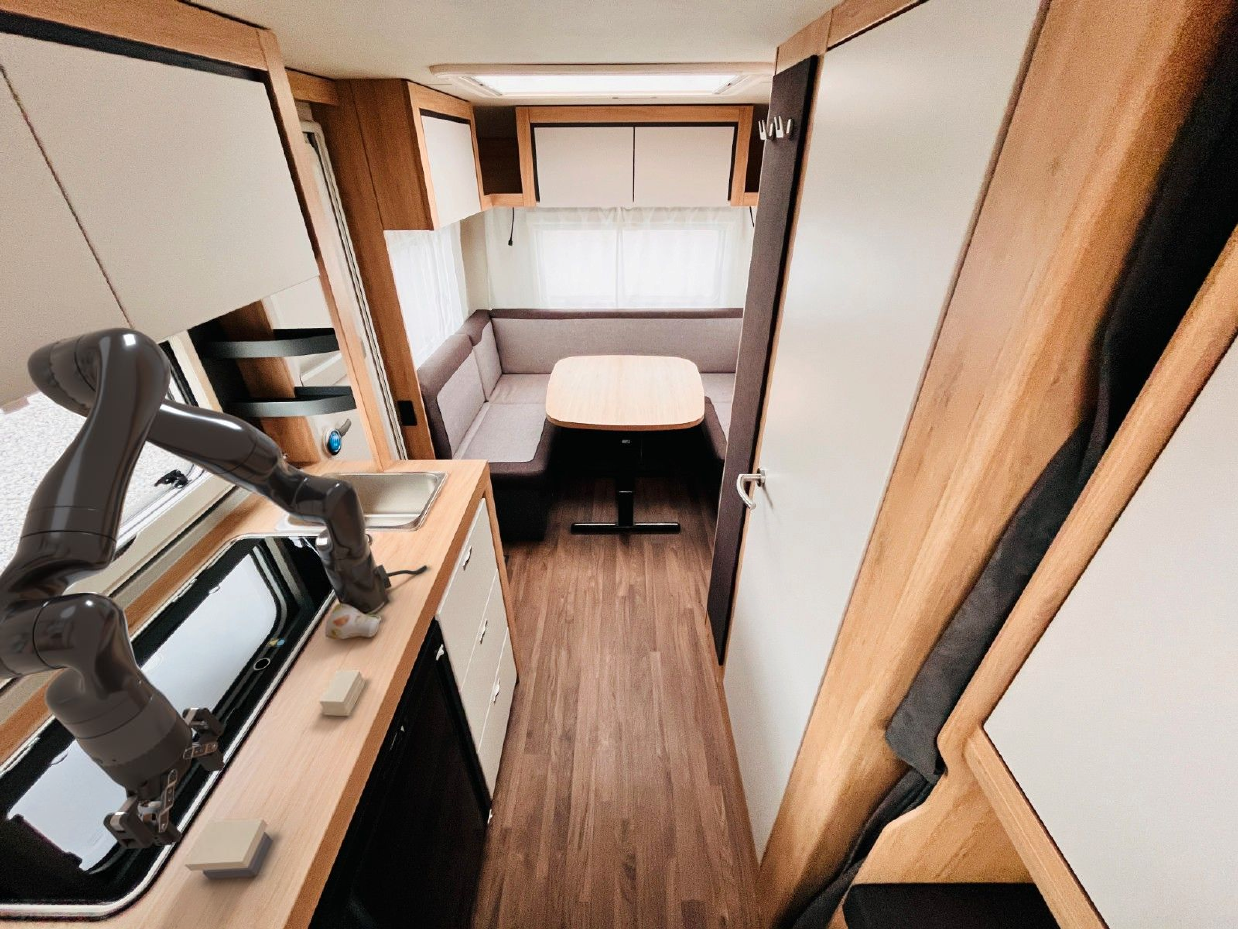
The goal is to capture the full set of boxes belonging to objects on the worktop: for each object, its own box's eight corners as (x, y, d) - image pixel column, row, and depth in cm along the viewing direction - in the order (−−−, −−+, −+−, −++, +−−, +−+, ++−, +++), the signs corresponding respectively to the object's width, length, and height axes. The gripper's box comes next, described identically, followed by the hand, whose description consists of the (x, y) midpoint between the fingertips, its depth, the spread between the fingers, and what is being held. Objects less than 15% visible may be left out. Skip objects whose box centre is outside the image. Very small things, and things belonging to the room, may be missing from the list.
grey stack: (208, 879, 72) (196, 867, 69) (227, 843, 75) (216, 830, 73) (256, 876, 72) (245, 864, 70) (273, 840, 76) (262, 828, 73)
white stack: (343, 682, 98) (336, 669, 96) (365, 683, 98) (359, 670, 95) (325, 715, 92) (318, 702, 90) (348, 716, 92) (342, 703, 90)
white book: (190, 871, 69) (183, 865, 68) (214, 827, 74) (208, 821, 72) (247, 867, 69) (241, 861, 68) (268, 824, 74) (262, 818, 73)
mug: (378, 647, 105) (339, 626, 99) (347, 652, 109) (307, 633, 103) (392, 613, 110) (356, 591, 104) (362, 620, 114) (325, 599, 108)
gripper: (118, 796, 52) (188, 865, 61) (208, 675, 64) (256, 746, 73) (42, 800, 52) (123, 868, 60) (146, 677, 64) (202, 748, 72)
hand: (196, 802), depth 66 cm, fingers open, 8 cm apart
